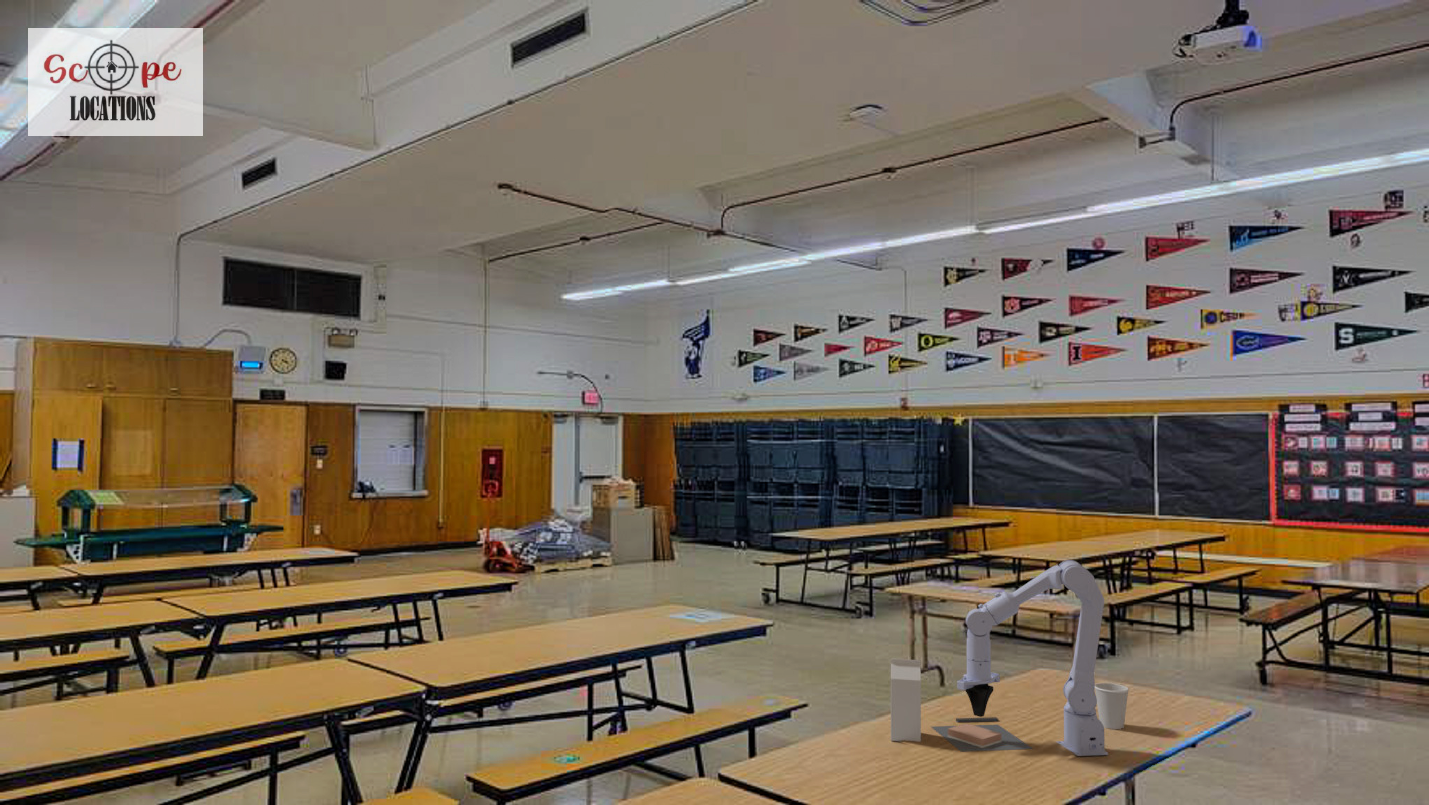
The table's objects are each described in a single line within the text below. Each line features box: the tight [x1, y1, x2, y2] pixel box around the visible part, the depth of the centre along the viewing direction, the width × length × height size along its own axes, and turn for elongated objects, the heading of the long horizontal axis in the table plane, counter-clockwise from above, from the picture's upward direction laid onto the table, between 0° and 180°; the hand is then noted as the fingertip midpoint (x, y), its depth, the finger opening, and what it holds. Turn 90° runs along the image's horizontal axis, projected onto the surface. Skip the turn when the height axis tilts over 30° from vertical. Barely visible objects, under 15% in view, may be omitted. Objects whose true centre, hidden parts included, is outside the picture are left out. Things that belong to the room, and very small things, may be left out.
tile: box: [948, 722, 1001, 748], centre depth 219 cm, size 2×10×8 cm
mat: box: [931, 724, 1034, 753], centre depth 220 cm, size 19×18×1 cm
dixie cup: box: [1094, 682, 1130, 730], centre depth 233 cm, size 8×8×10 cm
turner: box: [955, 716, 999, 723], centre depth 233 cm, size 19×7×1 cm, turn 98°
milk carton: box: [890, 658, 922, 742], centre depth 221 cm, size 7×7×19 cm
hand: (978, 715), depth 220 cm, fingers closed
